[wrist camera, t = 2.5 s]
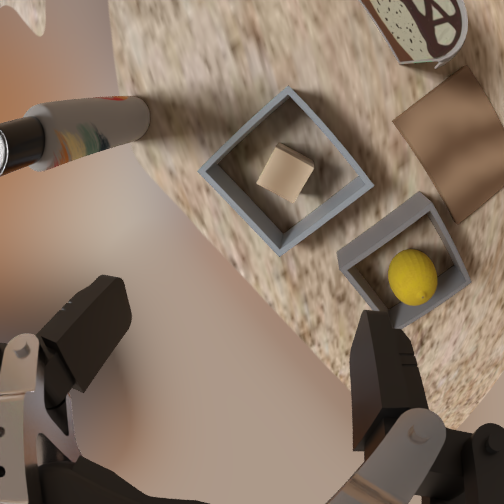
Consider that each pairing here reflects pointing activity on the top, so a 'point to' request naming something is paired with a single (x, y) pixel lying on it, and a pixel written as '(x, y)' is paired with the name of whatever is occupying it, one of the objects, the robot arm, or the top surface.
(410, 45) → the food container
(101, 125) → the lotion bottle
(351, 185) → the slate-blue bin
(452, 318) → the top surface
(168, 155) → the top surface
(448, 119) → the walnut board
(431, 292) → the lemon
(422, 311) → the charcoal bin
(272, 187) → the birch block
